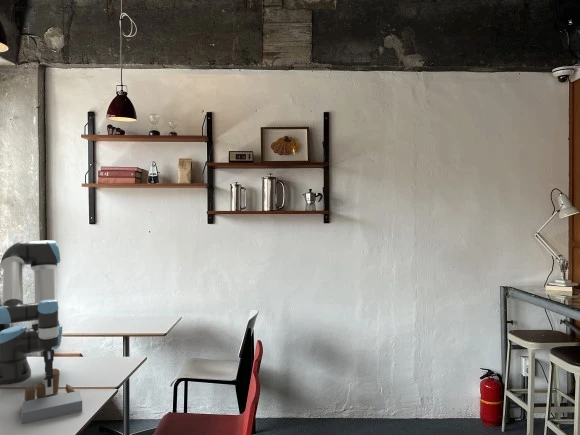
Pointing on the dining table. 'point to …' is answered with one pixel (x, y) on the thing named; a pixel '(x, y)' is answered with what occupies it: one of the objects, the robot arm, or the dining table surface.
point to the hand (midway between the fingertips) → (49, 390)
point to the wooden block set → (42, 388)
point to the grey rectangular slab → (51, 406)
